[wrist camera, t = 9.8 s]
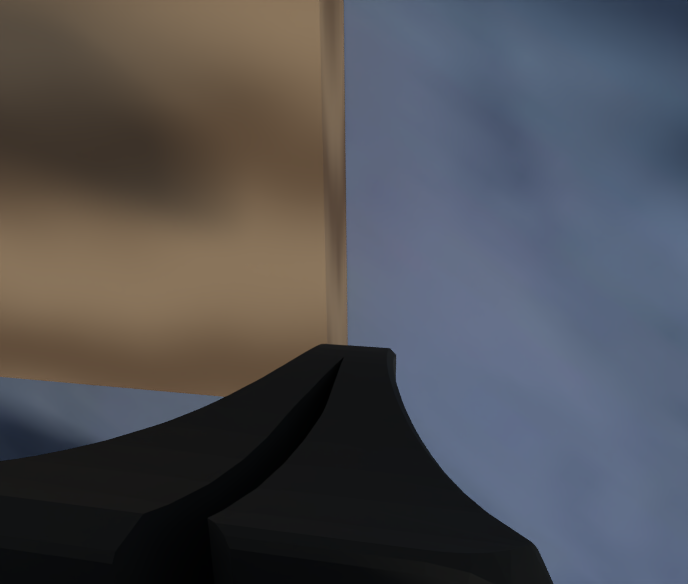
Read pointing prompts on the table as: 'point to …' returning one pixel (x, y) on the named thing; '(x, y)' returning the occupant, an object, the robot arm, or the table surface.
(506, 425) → the table surface
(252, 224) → the walnut deck
